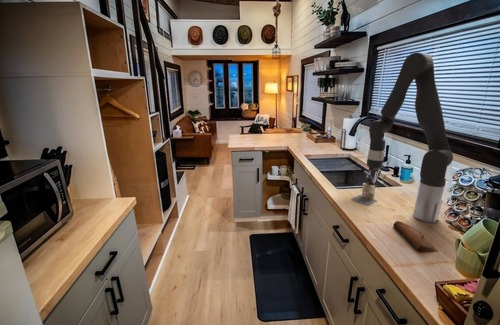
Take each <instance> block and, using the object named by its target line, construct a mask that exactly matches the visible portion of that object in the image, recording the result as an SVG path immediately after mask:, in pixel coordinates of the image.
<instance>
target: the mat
mask: <svg viewBox="0 0 500 325" xmlns="http://www.w3.org/2000/svg"><path fill="white" fill-rule="evenodd" d="M350 201H353V202H355V203H357V204H361V205H363V206H366V207H369V206H371V205H373V204H374V203H377V202H378V199H377V200H376V199H375V198H374V199H373V200H370V199H367V198H365V197H362V194H358V195H357V196H355V197H353V198H351V199H350Z"/></svg>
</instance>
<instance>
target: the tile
mask: <svg viewBox="0 0 500 325" xmlns="http://www.w3.org/2000/svg"><path fill="white" fill-rule="evenodd" d="M361 187H362V189H361V195H362V197H365V198H367V199H370V200H373V199H374V200H375V194H376V193H375V191H376V185H375V184H374V185H371V184H369V183H367V182H363V183H362V186H361Z"/></svg>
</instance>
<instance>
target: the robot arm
mask: <svg viewBox="0 0 500 325" xmlns="http://www.w3.org/2000/svg"><path fill="white" fill-rule="evenodd" d="M413 81H414V82H415V87H416V94H415V100H414V101H415V102H414V109H415V114H416V115H415V116H416V120H417V122H418V125H419V127H420V128H421V130H422V132H423V133H424V136H425V138H426V141H427V146H428V147H427V148H428V150H427V151H426V153H424V155H423V157H422V161H421V164H420V165H421V166H420V174H419V177H420V180H419V185H418V190H417V194H416V199H415V202H414V203H415V204H414V209H413V212H412V216H413V217H414V218H415V219H417V220H419V221H423V222H424V223H425V222H426V223H431V224H435V223H436V222H437V221H439V220H438V219H439V216H440V213H441V209H442V206H443V205H442V203H443V194H444V190H445V186H446V182H447V180H446V175H447V174H446V173H447V170H448V167H449V166H450V165H451V164H452V162H453V160H454V155H453V152H452V149H451V147H450V146H451V145H450V144H449V141H448V137H447V132H446V125H445V120H444V114H443V108H442V104H441V101H440V100H441V99H440V97H439V95H440V94H439V92H438V89H437V88H438V87H437V83H436V78H435V66H434V59H433V57H432V56H431V55H430V54H429V53H428V52H427V53H426V52H419V51H418V52H412V53H410V54H409V55H407V56H406V57H405V59H404V61H403V63H402V66H401V67H400V70H399V74H398V77H397V79H396V81H395V83H394V84H393V88H392V90H391V92H390V93H389V96H388V98H387V99H386V100H385V103H384V105H383V107H382V108H381V111H380V115H381V117H380V119H377V120H373V121H372V122H371V123H370V125H369V129H368V130H369V139H370V144H369V148H368V149H369V150H368V154H367V160H366V166H367V167H368V170H367V173H365V179H366V182H369V183H368V184H371V185H374V186H375V183H376V181H378V178H379V177H380V175H381V173H382V171H381V170H380V169H382V168H383V165H384V160H385V158H384V157H385V148H386V139H384V138H383V134H385V133H388V132H389V131H390V130H391V129H392V127H393V124H394V123H395V119H396V116H397V115H398V113H399V111H400V110H401V108H402V106H403V104H404V103H405V99H406V98H407V97H406V95H407V94H408V90H409V88H410V86H411V84H412V83H413Z"/></svg>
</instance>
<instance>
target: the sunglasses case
mask: <svg viewBox="0 0 500 325" xmlns="http://www.w3.org/2000/svg"><path fill="white" fill-rule="evenodd" d="M392 227H393V228H395V230H396V231H398V232H399V233H400V234H401V235H402V236H403V237H404V238H405V239H406V240H407V241H408V242H409V243H410V244H411V245H412V247H414V248H415V250H416V251H417V252H418V253H438V252H439V251H438V250H437V248H436V247H435V246H434V244H432V243H431V241H429V240H428V239H427V238H426V237H425V235H424V234H423V233H422V232H421V231H420V230H418V229H416V228H415V227H413V226H411V225H409V224H407V223H405V222H402V221H399V220H396V221H395V222H394V223H393V226H392Z"/></svg>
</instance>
